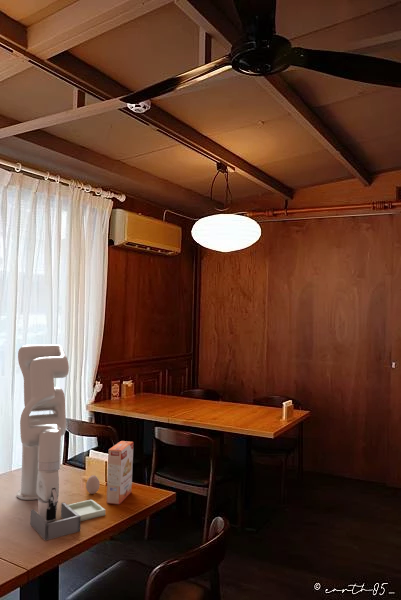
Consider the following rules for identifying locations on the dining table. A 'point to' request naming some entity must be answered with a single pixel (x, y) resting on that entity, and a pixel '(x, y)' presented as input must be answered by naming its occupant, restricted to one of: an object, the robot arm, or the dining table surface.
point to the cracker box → (119, 472)
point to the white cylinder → (43, 508)
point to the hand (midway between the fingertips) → (47, 515)
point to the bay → (56, 523)
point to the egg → (92, 484)
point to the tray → (87, 509)
